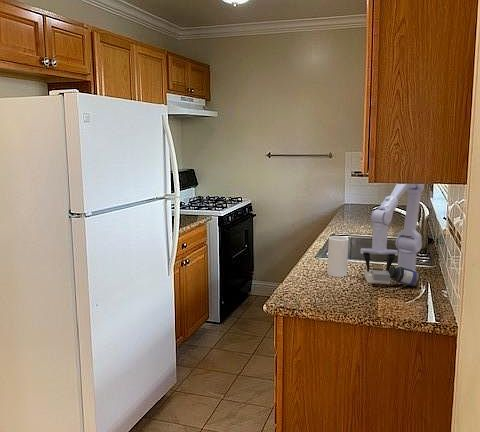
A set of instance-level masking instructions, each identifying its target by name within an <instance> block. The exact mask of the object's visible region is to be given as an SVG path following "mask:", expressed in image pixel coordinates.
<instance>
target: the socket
mask: <svg viewBox="0 0 480 432" xmlns="http://www.w3.org/2000/svg"><path fill="white" fill-rule="evenodd" d="M372 270H373V269H369V272H367V269H364V278H365V281H366V283H369V284H384V285H385V284H386V285H387V284H388V285H391V278H390V281H381V280H374V279H373V277H372Z"/></svg>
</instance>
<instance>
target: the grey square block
mask: <svg viewBox="0 0 480 432" xmlns="http://www.w3.org/2000/svg"><path fill="white" fill-rule="evenodd" d="M371 270H372V277H373V279H374V280H381V281H390V282H391V280H390V274H389V272H388V271H386V270H383V271H380V270H373V269H371Z"/></svg>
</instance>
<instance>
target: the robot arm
mask: <svg viewBox="0 0 480 432" xmlns="http://www.w3.org/2000/svg"><path fill="white" fill-rule="evenodd" d="M424 188H425V184H397V183H396V184H395V186H394V188H393V190H392V192H391V193H390V195H387V196H386V197H385V198H384V199H383V200H382V202H381V204H380V205H379V206H378V208H377V209H375V210H373V211H372V212H371V215H370V221H371V226H372V241H371V242H372V243H371V248H369V247H368V248H367V247H365V248H362V247H361V248H360V254H361V255H363V258H364V261H365V264H366V270H367V272H369V270H370V263H371V262H370V260H371V255H386V265H385V271H389V269H390V267H392V263H393V262H394V261H395V258H396V256H397V265H396V266H395V267H396V268H397V267H403V268H407V269H410V270H414V271H417V270H416V266H417V265H416V264H417V253H419V252H420V251H421V249H422V246H423V242H422V237H423V236H422V235H421V234H420V233H419V231H417V226H418V219H419V218H418V217H419V212H420V203H421V196H422V192H424ZM405 192H406V193H407V202H406V211H405V217H404V223H403V225H404V226H403V228H402V230H400V231H398V233H397V237H396V239H395V242H394V243H395V248H396V249H389V248H387V244H388V231H389V230H388V229H389V224H391V223H392V219H393V215H394V214H393V213H394V211H395V210H396V209H397V207H398V206H399V201H398V200H399V199H400V198H401V196H403V194H404V193H405Z"/></svg>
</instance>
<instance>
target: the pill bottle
mask: <svg viewBox="0 0 480 432" xmlns="http://www.w3.org/2000/svg"><path fill="white" fill-rule="evenodd" d="M388 272H389V274H390V278H391V279H393V280H394V281H395V282H396V283H400V284H404V285H408V286H411V287H417V286H418V285H419V284H420V280H421V273H420V272H419V271H417V270H416V271H414V270H410V269H407V268H403V267H397V268H396V266H390V269H389V271H388Z"/></svg>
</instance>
